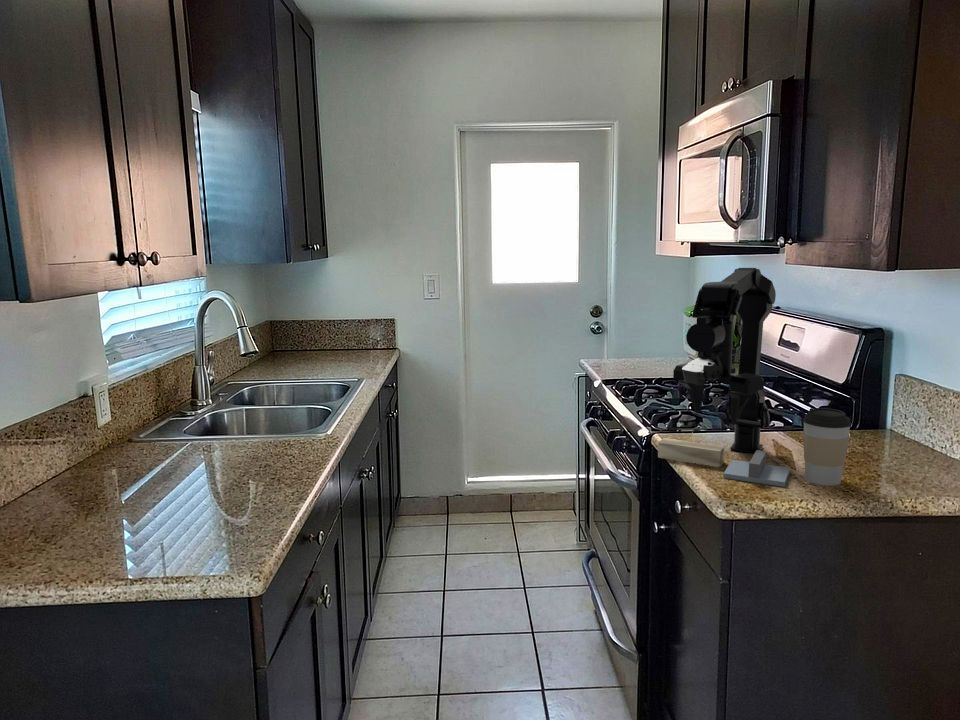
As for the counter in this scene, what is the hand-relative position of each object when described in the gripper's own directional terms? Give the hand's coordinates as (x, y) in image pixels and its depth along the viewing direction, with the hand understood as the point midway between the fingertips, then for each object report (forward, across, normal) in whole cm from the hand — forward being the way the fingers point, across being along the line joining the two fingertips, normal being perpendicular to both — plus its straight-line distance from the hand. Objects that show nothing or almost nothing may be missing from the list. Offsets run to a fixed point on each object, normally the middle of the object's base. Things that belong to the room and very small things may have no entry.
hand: (715, 417), depth 143 cm
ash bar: (+14, -10, +5) cm, 18 cm away
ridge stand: (+13, +5, +8) cm, 16 cm away
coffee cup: (+14, +14, +17) cm, 26 cm away
